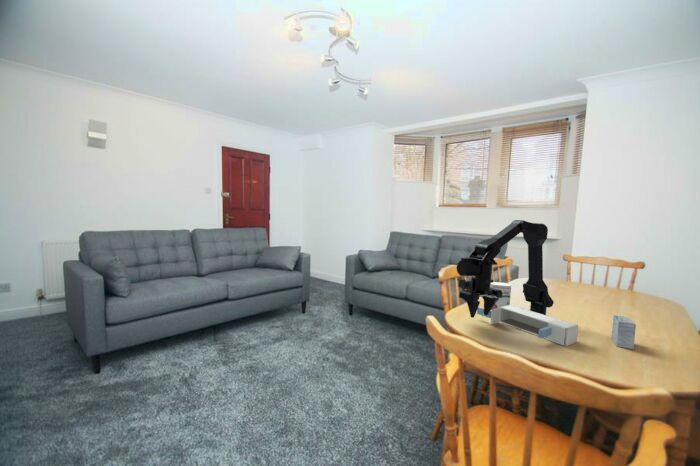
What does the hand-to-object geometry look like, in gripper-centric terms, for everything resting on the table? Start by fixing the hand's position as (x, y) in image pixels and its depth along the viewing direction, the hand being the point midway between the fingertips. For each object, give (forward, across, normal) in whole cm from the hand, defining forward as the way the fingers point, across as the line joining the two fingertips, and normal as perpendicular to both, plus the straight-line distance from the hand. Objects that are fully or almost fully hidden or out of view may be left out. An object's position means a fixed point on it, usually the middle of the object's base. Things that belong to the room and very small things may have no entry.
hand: (478, 316), depth 115 cm
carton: (+3, -14, +14) cm, 20 cm away
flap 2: (+3, -7, +22) cm, 24 cm away
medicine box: (+2, -31, +34) cm, 45 cm away
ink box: (+3, -26, -8) cm, 27 cm away
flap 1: (+3, -7, -1) cm, 8 cm away
